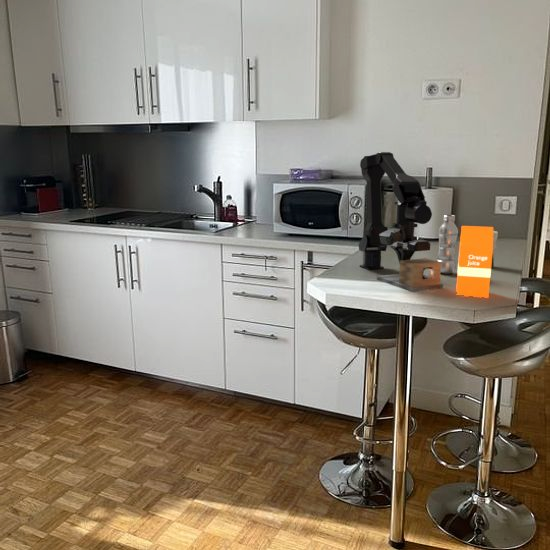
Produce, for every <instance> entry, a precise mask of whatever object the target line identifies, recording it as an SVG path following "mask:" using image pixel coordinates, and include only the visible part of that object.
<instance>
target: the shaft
mask: <svg viewBox="0 0 550 550" xmlns="http://www.w3.org/2000/svg"><path fill="white" fill-rule="evenodd" d="M406 260H411V259H406ZM435 274H436V273H435V271H434V270H432V269H429V268H423V277H424V278H428V279H433V278H434V277H435Z"/></svg>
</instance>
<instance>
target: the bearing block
mask: <svg viewBox="0 0 550 550" xmlns="http://www.w3.org/2000/svg"><path fill="white" fill-rule="evenodd" d="M423 268H429V269H432V270H434V271H435V273H436V274H435V277H434V278H433V279H428V278H424V277H423ZM440 271H441V262H438V261H437V260H434V259H430V258H425V257H424V258H416V259H415V258H413V259H410V260H402V261H400V263H399V273H393V274H385V275H376V280H378V281H381V282H383V283H386V284H389V285H391V286H393V287H394V286H395V287H397V288H401V289H403V290H406V291H409V292H412V291H413V292H420V290H421V291H428V290H427V289H429V290H435V289H434V288H437V289H443V288H444V284H442V283H440V282H441V273H440ZM442 287H443V288H442Z"/></svg>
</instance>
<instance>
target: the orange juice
mask: <svg viewBox="0 0 550 550" xmlns="http://www.w3.org/2000/svg"><path fill="white" fill-rule="evenodd" d="M460 230H461V231H460V241H459V249H458V262H457V273H456V274H457V275H456V276H457V277H456V286H455V287H456V288H455V292H457V294H456V296H457V295H464V296H463V297H469V296H473V298H482V297H484V298H486V299H489V295H490V293H489V292H490V283H491V274H492V267H491V264H492V253H493V254H494V252H493V251H494V250H493V231H494V227H493V226H478V225H477V226H476V225H461V229H460ZM484 298H483V299H484Z"/></svg>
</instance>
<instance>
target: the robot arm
mask: <svg viewBox="0 0 550 550" xmlns="http://www.w3.org/2000/svg"><path fill="white" fill-rule="evenodd" d="M359 163H360V164H359V166H360V169H361V176H362V177H363V178H364V180H365V182H366V201H367V202H366V205H367V224H366V225H365V228H364V229H363V236H362V238H361V239H360V241H359V243H358V250H359V251H360V252H363V258H362V259H363V260H362V261H363V264H360V265H359V267H360V268H363V269H366V270H376V269H377V270H378V269H384V268H385V267H384V266H382V252H386V251H387V248H388V246H389V247H390V248H391V249H392V250H394V251H395V253H396V256H397V259H398V263H399V264H400V261H402V260H406V259H410V260H412V259H411V258H412V257H413V256H414V254H415V253H416V252H425V251H431V242H430V241H428V240H425V239H418V238H417V236H415V228H418V224H419V225H420V224H421V225H426V224H427V223H429V222H430V220H431V219H432V217H433V212H432V209H431V207H430V206H429V205H427V201H426V196H425V194H424V192H423V190H422V187H421V184H420V181H418V179H416V178H415V177H413V176H412V175H408V174H407V173H406V172H405V170H403V168H402V166H401V165H400V164H399V163H398V162H397V160H396V159H395V157H394V154H393V153H392V152H389V151H379V152H377V153H375V154H371V155H364V156H363V158H362V159H361V160H360V162H359ZM385 174H386V175H387V177H388V179H389V180H390V181H391V183H392V191H393V194H394V196H395V197H396V199H397V200H395V201H394V205H395V206H396V221H395V222H393V224H392V227H391V228H390V229H389V228H388V227H387V226H385V224H384V223H383V218H382V217H383V213H382V212H383V211H382V179H383V177H384V176H385Z"/></svg>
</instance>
